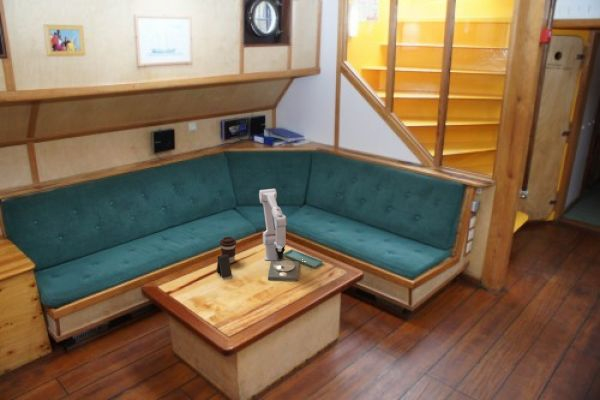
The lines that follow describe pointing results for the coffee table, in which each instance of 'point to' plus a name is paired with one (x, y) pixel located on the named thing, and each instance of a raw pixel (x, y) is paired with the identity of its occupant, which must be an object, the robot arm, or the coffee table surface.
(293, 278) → the scale base
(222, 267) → the phone stand
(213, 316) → the coffee table surface
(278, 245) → the robot arm
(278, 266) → the scale pan
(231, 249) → the coffee cup
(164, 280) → the coffee table surface
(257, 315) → the coffee table surface
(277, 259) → the cylinder
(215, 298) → the coffee table surface
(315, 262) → the rectangular tray
